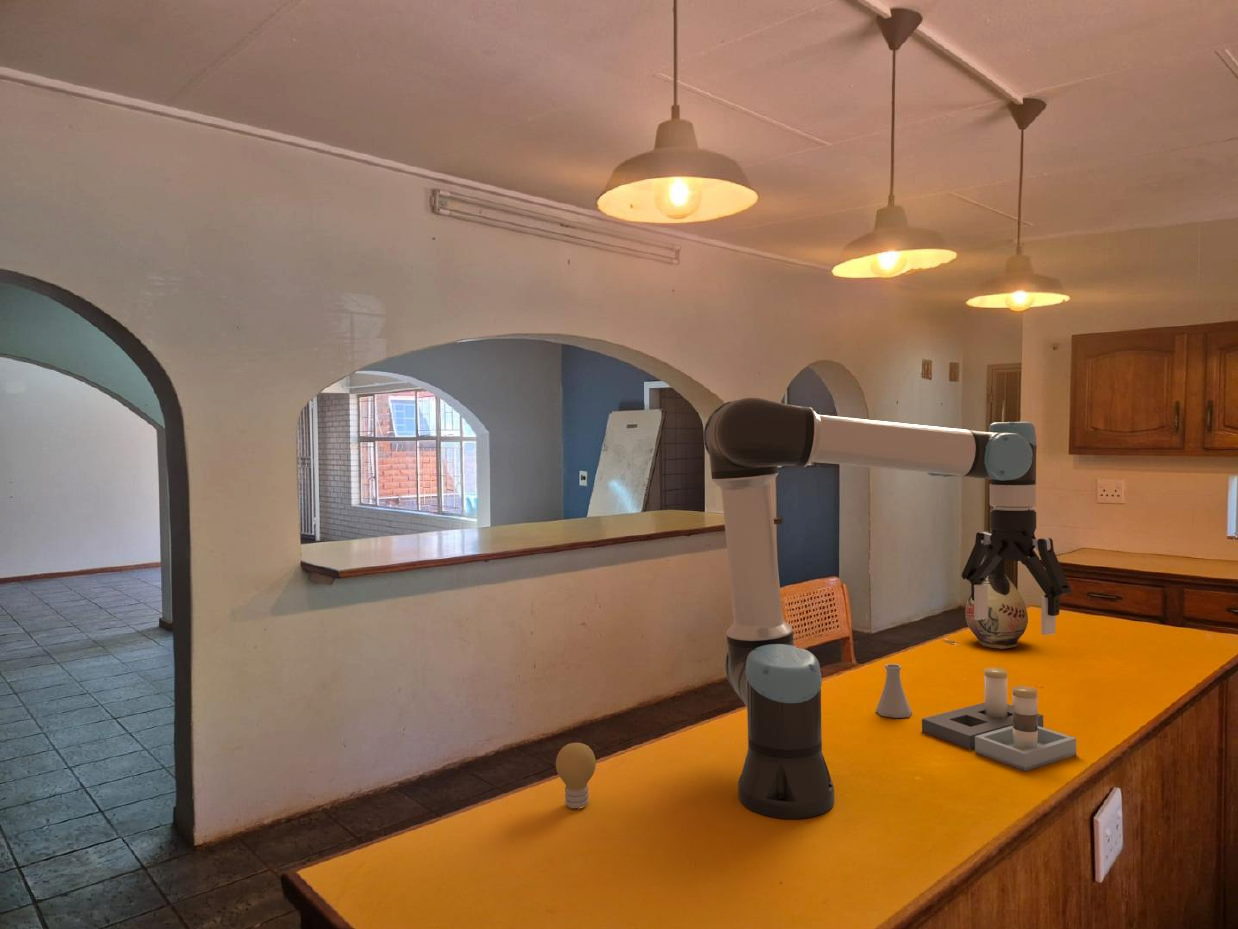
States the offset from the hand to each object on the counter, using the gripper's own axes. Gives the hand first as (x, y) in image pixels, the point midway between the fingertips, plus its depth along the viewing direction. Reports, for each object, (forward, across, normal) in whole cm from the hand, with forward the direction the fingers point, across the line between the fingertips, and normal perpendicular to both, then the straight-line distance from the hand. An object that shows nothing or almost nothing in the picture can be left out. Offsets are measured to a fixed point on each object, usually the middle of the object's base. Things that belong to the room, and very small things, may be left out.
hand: (1013, 626), depth 147 cm
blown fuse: (+22, -1, -1) cm, 22 cm away
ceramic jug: (+23, +51, -62) cm, 83 cm away
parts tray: (+23, -1, -1) cm, 23 cm away
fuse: (+23, +11, -9) cm, 27 cm away
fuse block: (+23, +11, -5) cm, 26 cm away
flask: (+23, +27, +2) cm, 35 cm away
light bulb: (+24, +21, +77) cm, 83 cm away
